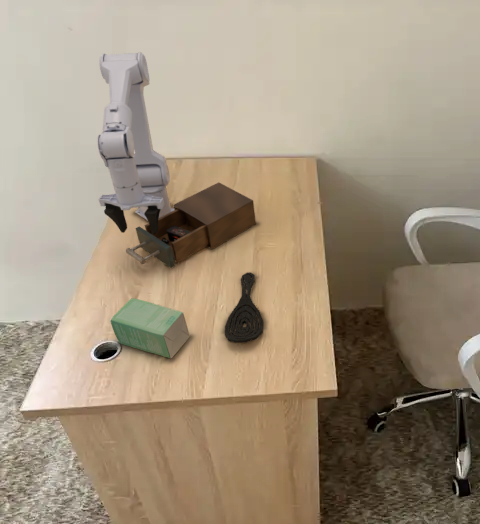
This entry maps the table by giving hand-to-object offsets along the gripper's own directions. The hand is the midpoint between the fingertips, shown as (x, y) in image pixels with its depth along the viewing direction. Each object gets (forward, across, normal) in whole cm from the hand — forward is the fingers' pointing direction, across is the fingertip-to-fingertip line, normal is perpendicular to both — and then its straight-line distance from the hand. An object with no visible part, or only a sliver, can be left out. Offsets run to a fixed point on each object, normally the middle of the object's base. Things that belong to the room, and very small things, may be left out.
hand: (139, 231), depth 138 cm
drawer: (+9, +4, +5) cm, 11 cm away
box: (+10, +10, -25) cm, 29 cm away
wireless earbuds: (+8, +5, +7) cm, 12 cm away
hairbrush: (+10, +28, -15) cm, 33 cm away
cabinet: (+10, +13, +17) cm, 24 cm away
